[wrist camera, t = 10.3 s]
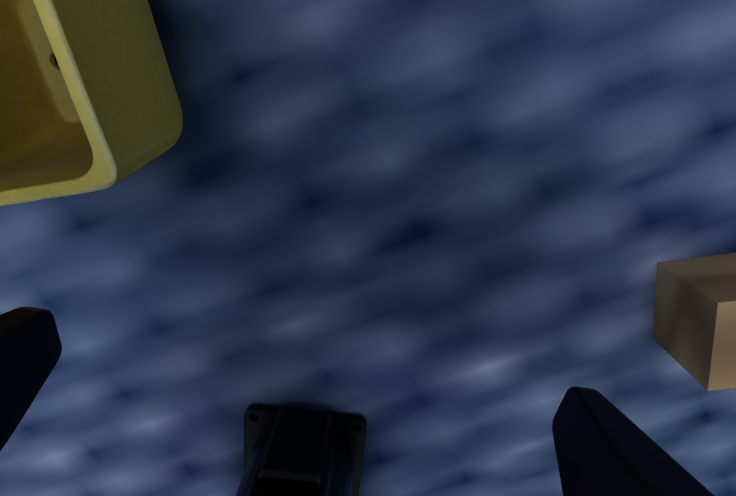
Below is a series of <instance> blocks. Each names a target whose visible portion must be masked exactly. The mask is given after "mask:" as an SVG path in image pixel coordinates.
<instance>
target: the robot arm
mask: <svg viewBox="0 0 736 496" xmlns="http://www.w3.org/2000/svg"><path fill="white" fill-rule="evenodd" d="M61 350H62V345H61V341H60V337H59V334H58V330H57V327H56V323H55V319H54V316H53V314H52V313H51V312H50V311H49V310H46V309H40V308H34V307H20V308H17V309H14V310H12V311H9V312H6V313H4V314H1V315H0V451H1V449H2V448H3V447H4V445H5V444H6V442H7V441H8V440H9V438H10V437H11V435H12V433H13V432H14V430H15V429H16V427H17V426H18V424H19V423H20V421H21V419H22V418H23V416H24V415H25V413H26V411H27V410H28V408H29V407H30V405H31V403H32V402H33V400H34V399H35V397H36V395H37V394H38V392H39V391H40V389H41V387H42V386H43V384H44V382H45V381H46V379H47V378H48V376H49V374H50V373H51V371H52V370H53V368H54V366H55V365H56V363H57V362H58V360H59V357H60V355H61ZM252 414H256V415H257V416H254V415H252ZM354 425H360V426H358V427H357V426H354ZM366 426H367V423H366V420H365V418H363V417H362V416H358V415H349V414H340V413H330V412H320V411H311V410H301V409H291V408H282V407H272V406H262V405H251V406H249V407H248V408H247V410H246V412H245V415H244V474H243V477H242V480H241V483H240V485H239V488H238V491H237V494H236V496H358V495H359V487H360V478H361V470H362V461H363V453H364V444H365V436H366ZM552 430H553V437H554V443H555V449H556V455H557V461H558V467H559V473H560V479H561V485H562V492H563V496H714V495H713V494H712V493H711V492H710V491H709V490H707V489H706V488H705V487H704V486H703V485H702V484H701V483H700V482H699V481H697V480H696V479H695V478H694V477H693V476H692V475H691V474H690V473H689V472H687V471H686V470H685V469H684V468H683V467H682V466H681V465H680V464H679V463H677V462H676V461H675V460H674V459H673V458H672V457H671V456H670V455H669V454H667V453H666V452H665V451H664V450H663V449H662V448H661V447H660V446H658V445H657V444H656V443H655V442H654V441H653V440H652V439H651V438H650V437H648V436H647V435H646V434H645V433H644V432H643V431H642V430H641V429H640V428H638V427H637V426H636V425H635V424H634V423H633V422H632V421H631V420H630V419H628V418H627V417H626V416H625V415H624V414H623V413H622V412H621V411H619V410H618V409H617V408H616V407H615V406H614V405H613V404H612V403H611V402H609V401H608V400H607V399H606V398H605V397H604V396H603V395H602V394H601V393H599V392H598V391H596V390H594V389H590V388H583V387H576V386H574V387H571V388H569V389H568V390H567V392H566V394H565V396H564V398H563V400H562V402H561V404H560V406H559V408H558V410H557V412H556V414H555V416H554V419H553V425H552Z"/></svg>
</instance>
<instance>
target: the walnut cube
mask: <svg viewBox="0 0 736 496" xmlns="http://www.w3.org/2000/svg"><path fill="white" fill-rule="evenodd" d="M653 339H654V340H655V341H656V342H657V343H658V344H659V345H660V346H662V347H663V348H664V349H665V350H666V351H667V352H668V353H669V354H670V355H671V356H672V357H673V358H674V359H675V360H676V361H677V362H678V363H679V364H680V365H681V366H682V367H683V368H684V369H686V370H687V371H688V372H689V373H690V374H691V375H692V376H693V377H694V378H695V379H696V380H697V381H698V382H699V383H700V384H701V385H702V386H703V387H704V388H705V389H706V390H707V391H710V390H720V389H729V388H736V253H728V254H720V255H713V256H705V257H698V258H690V259H683V260H675V261H667V262H660V263H658V264H657V279H656V294H655V310H654V325H653Z"/></svg>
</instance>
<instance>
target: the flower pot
mask: <svg viewBox="0 0 736 496" xmlns="http://www.w3.org/2000/svg"><path fill="white" fill-rule="evenodd" d="M54 57H56V59H57V62H58V65H59V67H58V66H57V65H56V63H55V61H54ZM182 128H183V115H182V109H181V105H180V102H179V98H178V95H177V92H176V89H175V86H174V83H173V80H172V76H171V73H170V70H169V67H168V64H167V60H166V57H165V54H164V51H163V48H162V44H161V41H160V38H159V35H158V32H157V28H156V25H155V22H154V19H153V15H152V12H151V9H150V6H149V3H148V0H0V206H4V205H11V204H18V203H24V202H30V201H35V200H43V199H49V198H55V197H62V196H70V195H77V194H83V193H89V192H94V191H99V190H103V189H107V188H110V187H112V186H113V185H115V184H116V183H118V182H119V181H121V180H123V179H124V178H126V177H127V176H129V175H131V174H132V173H134V172H135V171H137V170H138V169H140V168H142V167H143V166H145V165H146V164H148V163H149V162H151V161H152V160H154V159H155V158H157V157H159V156H160V155H162V154H163V153H165V152H166V151H167V150H169V149H170V148H171V147H172V146H174V144H175V143H176V142H177V141H178V139H179V137H180V135H181V132H182Z"/></svg>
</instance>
